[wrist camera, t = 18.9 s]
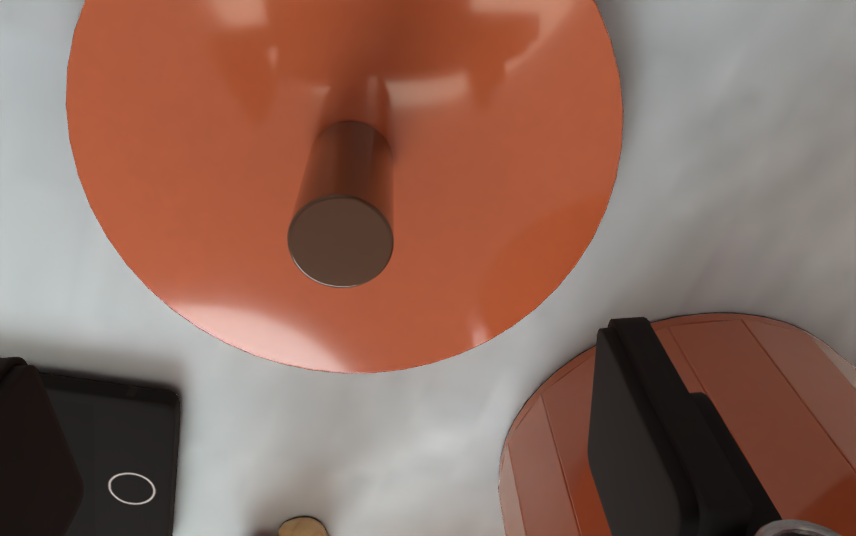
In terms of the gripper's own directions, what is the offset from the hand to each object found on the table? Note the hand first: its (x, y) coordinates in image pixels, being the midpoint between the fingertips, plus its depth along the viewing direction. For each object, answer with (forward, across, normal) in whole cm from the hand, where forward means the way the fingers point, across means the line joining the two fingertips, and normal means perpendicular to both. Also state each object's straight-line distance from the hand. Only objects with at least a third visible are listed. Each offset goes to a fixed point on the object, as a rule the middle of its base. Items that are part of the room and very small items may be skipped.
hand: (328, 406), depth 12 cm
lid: (+10, 0, -1) cm, 10 cm away
